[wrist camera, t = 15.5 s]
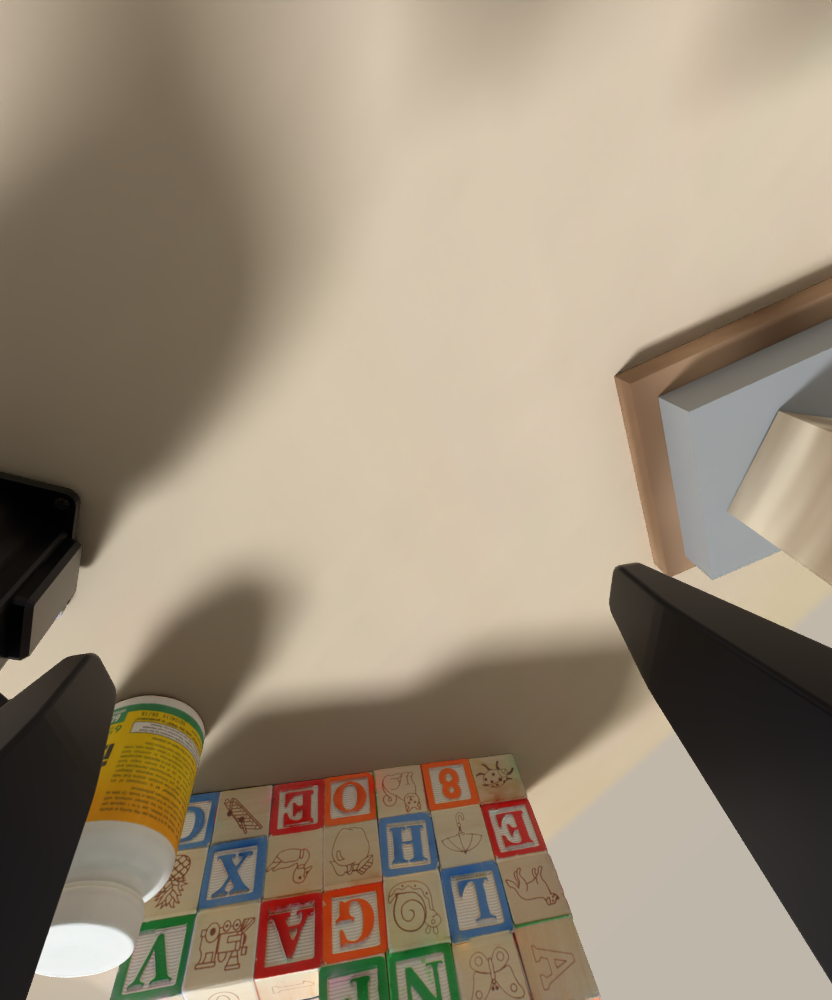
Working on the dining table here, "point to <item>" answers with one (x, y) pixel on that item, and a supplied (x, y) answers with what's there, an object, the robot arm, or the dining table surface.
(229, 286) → the dining table surface
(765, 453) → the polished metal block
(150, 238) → the dining table surface
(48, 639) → the dining table surface
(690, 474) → the slate slab
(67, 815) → the robot arm
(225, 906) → the stack of blocks
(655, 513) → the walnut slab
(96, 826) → the supplement bottle
